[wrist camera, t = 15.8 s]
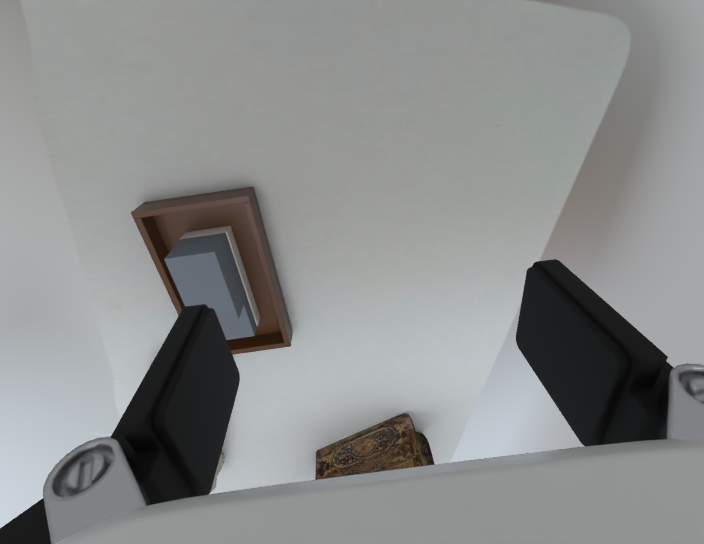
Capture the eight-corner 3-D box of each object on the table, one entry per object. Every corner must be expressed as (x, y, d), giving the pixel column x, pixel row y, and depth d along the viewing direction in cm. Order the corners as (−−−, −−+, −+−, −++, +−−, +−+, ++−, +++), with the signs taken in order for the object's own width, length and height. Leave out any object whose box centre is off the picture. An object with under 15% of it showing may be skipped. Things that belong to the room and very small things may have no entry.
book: (330, 471, 56) (333, 728, 34) (310, 453, 53) (300, 719, 32) (425, 431, 52) (496, 688, 31) (409, 410, 50) (474, 675, 28)
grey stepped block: (185, 232, 34) (162, 259, 29) (230, 225, 34) (215, 251, 29) (221, 322, 40) (206, 358, 35) (260, 317, 40) (251, 351, 35)
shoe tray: (143, 202, 33) (130, 212, 31) (253, 186, 33) (248, 195, 31) (205, 343, 42) (198, 359, 39) (292, 331, 42) (290, 346, 39)
